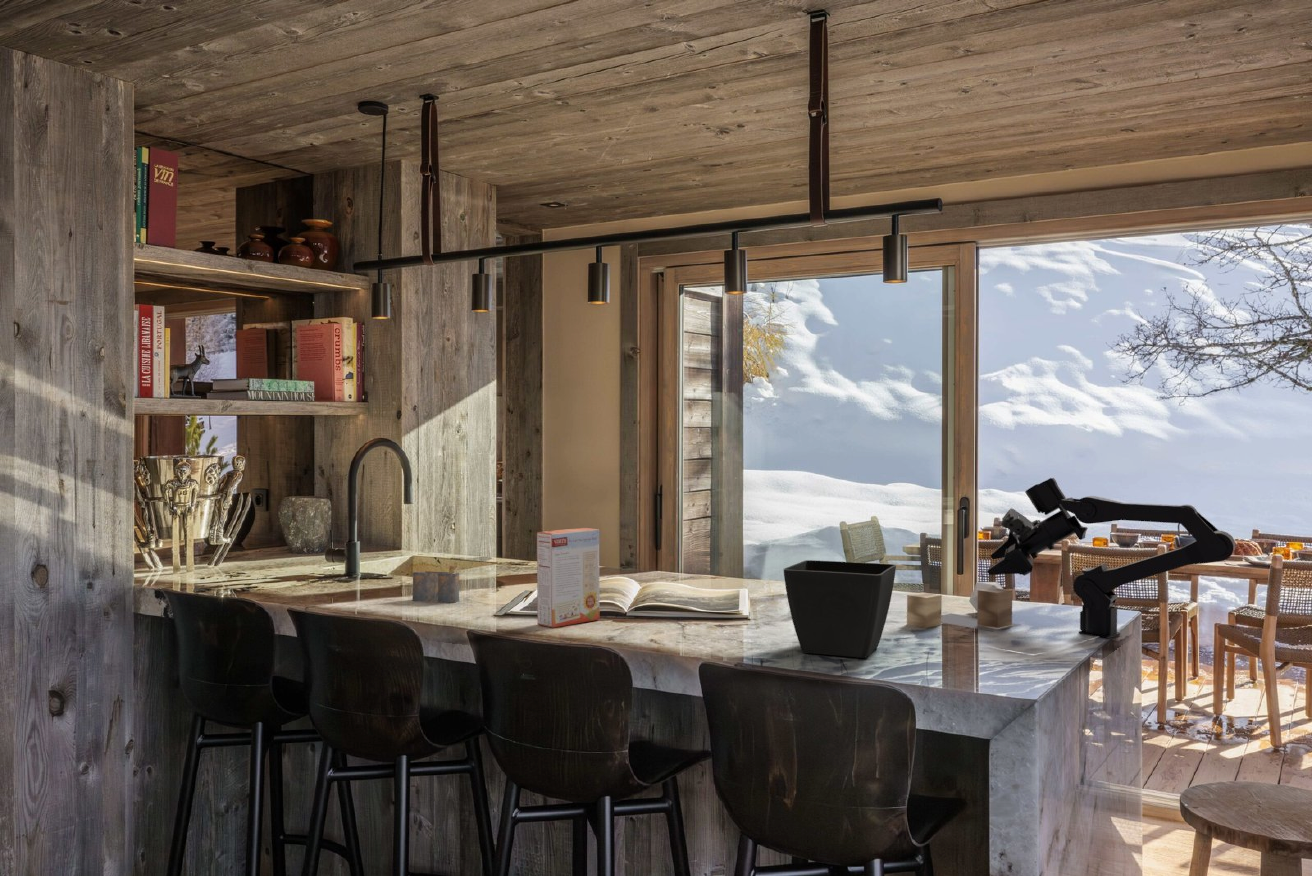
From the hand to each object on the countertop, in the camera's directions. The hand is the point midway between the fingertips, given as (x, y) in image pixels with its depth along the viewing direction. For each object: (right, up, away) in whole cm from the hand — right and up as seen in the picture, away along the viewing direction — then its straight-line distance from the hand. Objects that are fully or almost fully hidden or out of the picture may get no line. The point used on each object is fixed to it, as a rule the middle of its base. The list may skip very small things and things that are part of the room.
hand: (989, 565), depth 230 cm
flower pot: (-40, -13, -30) cm, 52 cm away
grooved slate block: (-132, -13, +23) cm, 135 cm away
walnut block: (-1, -13, -5) cm, 14 cm away
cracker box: (-96, -13, -4) cm, 97 cm away
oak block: (-16, -13, -4) cm, 21 cm away
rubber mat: (-5, -13, -1) cm, 14 cm away
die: (+3, -14, +10) cm, 17 cm away
